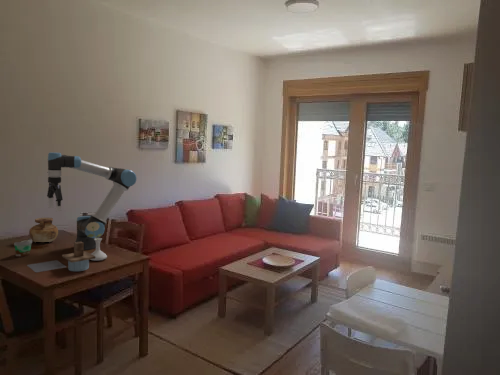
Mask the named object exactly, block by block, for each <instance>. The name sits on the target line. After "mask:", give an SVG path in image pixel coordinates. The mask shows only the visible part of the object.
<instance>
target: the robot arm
mask: <svg viewBox="0 0 500 375" xmlns="http://www.w3.org/2000/svg"><path fill="white" fill-rule="evenodd" d="M47 154H48V155H47V176H48V177H47V183H48V189H47V195H46V196H47V198H48V202H47V203H48V209H53V208H54V196H55V212H61V211H62V201H63V193H62V187H61V183H62V168H69V169H73V170H78V171H81V172H84V173H88V174H92V175H95V176H99V177H103V178H105V180H108V181H112V183H113V185H112V187H111V189H110V190H109V192H108V193H107V195H106V196H105V197H104V199H103V200H102V202H101V204H100V205H99V207H98V209H97V210H96V211H95V213H94V214H91V215H81V216H78V217H77V218H76V238H75V240H74V242H83V243H84V251H89V250H94V249H96V242H95V240H94V239H95V238H96V237H97V235H99V234H101V233H102V235H101V236H103V235H104V233H105V229H106V228H105V226H107V219H108V218H109V217H110V215H111V213H112V212H113V210H114V209H115V207H116V205H117V203H118V202H119V200H120V199H121V197H122V196H123V194H124V193H125V192H127V191H129V189H130V187H132V186H134V185H135V184H136V182H137V179H138V178H137V174H136V173H135V172H134V171H133V170H131V169H127V168H126V169H125V168H118V167H112V166H104V165H101V164H97V163H93V162H90V161H87V160H83V159H82V158H81V156H78V155H68V154H67V155H66V154H62V153H61V152H55V151H54V152H51V151H50V152H48V153H47ZM91 222H92V223H93V222H96V223H98V224H99V229H98V230H96V231H94V233H93V231H89V230H87V228H86V226H87V225H88V224H89V223H91ZM89 234H93V235H95V236H96V237H95V236H93V237H87V236H88V235H89ZM101 236H99V237H97V238H101Z"/></svg>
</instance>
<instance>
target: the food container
mask: <svg viewBox="0 0 500 375" xmlns="http://www.w3.org/2000/svg"><path fill="white" fill-rule="evenodd" d="M32 244H33V241H32V239H31V238H30V237H29V238H28V237H27V239H26V240H20V241H19V242H18V241H14V243H13V246H14V251H15V257H16V258H26V257H28V256H29V257H30V255H31V249H32Z"/></svg>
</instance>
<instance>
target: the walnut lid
mask: <svg viewBox="0 0 500 375" xmlns="http://www.w3.org/2000/svg"><path fill="white" fill-rule="evenodd" d="M61 257H62V258H63V259H65V260H67V262H68V261H70V262H71V263H72V262H78V261H83V260H89V261H90V259H95V256H94V255H92V253H90V252H88V251H87V250H84V243H83V242H75V241H74V242H73V252H72V253H66V254H61Z"/></svg>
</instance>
